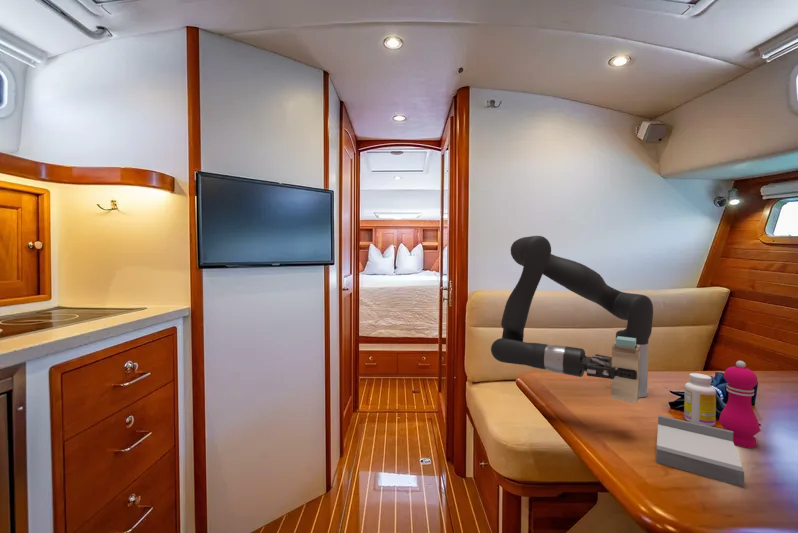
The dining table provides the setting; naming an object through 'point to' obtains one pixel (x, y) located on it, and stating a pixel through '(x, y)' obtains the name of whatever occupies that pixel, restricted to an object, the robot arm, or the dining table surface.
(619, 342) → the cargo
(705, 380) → the supplement bottle
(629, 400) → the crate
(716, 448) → the dock
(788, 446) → the dining table surface
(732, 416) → the pepper mill
